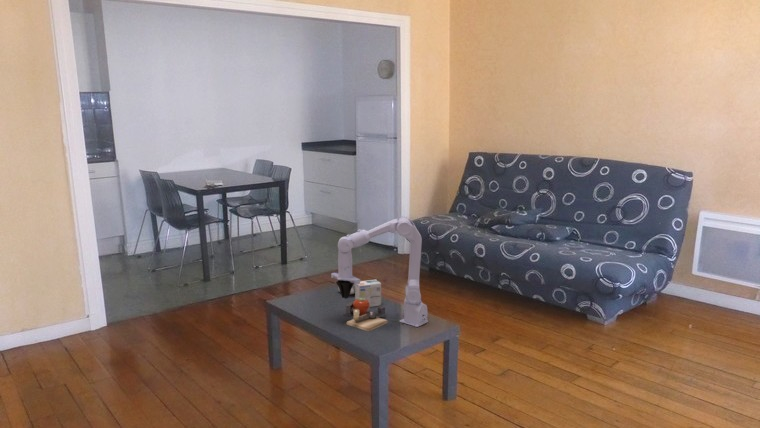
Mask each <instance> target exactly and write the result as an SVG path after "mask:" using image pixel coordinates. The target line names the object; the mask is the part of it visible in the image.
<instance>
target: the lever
mask: <svg viewBox="0 0 760 428" xmlns="http://www.w3.org/2000/svg"><path fill="white" fill-rule="evenodd" d="M353 311H354V313H353V319H354V320H355V321H356V322H360V321H363V320H367V319H374V318H376V317H379V316H384V315H386V307H385V306H382V305H381V306H377V311H371V310H370V311H367V313H366V314H367V315H365V316H362V315H359V309H354V310H353ZM359 316H361V317H359Z"/></svg>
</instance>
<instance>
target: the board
mask: <svg viewBox="0 0 760 428" xmlns="http://www.w3.org/2000/svg"><path fill="white" fill-rule="evenodd" d="M365 315H367V313H365V314H364V315H359V317H361V316H365ZM387 324H388V319H384V318H381V317H379V316H377V317H376V318H374V319H367V320H363V321H360V322H356V321H355V320H354V318H351V319H350V320H348V321H346V326H351V327H354V328H356V329H359V330H362V331H366V332H371V331H374V330H375V329H377V328H381V327H382V326H385V325H387Z"/></svg>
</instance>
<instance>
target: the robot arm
mask: <svg viewBox="0 0 760 428" xmlns="http://www.w3.org/2000/svg"><path fill="white" fill-rule="evenodd" d="M387 233H391V234H395V235H396V234H398V235H400V236H402V237H403V238H405V239H406V240H408V241H409V243H410V244H409V256H408V257H409V261H408V276H407V277H408V278H407V283H406V284H405V287H404V293H405V298H404V299H403V318H401V319H400V320H399V323H402V324H406V325H409V326H413V327H415V328H417V327H420V326H422V325H425V324H427V323H429V320H428V306H427V304H426V303H424V302H423V301H422V294H421V291H420V290H421V289H420V270H421V260H422V257H421V256H422V242H423V239H422V235H421V234H420V232H419V230H418V228H417V226H416V225H415V223H414V221H412V220H411V219H410V218H409V217H407V216H401V217H398V218H393V219H392V220H389V221H387V222H385V223H382V224H380V225H378V226H376V227H373V228H371V229H369V230H366V229H360V228H359V229H357V231H356V232H354V233H352V234H346V236H341V237H340V238H339V240H338V242H337V250H338V251H337V252H338V255H337V263H338V264H337V268H338V272H331V273H330V278H331V279H336V280H337V281H336V282H335V283H336V285H337V288H338V287H339V289H340V292H339V293H340V294H341V297H342V299H343V298H344V299H349V298H350V295H351V294H350V291H351V289H352V286H353V285H354V283H355V284H356V285H357V284H360V281H361V278H358V277H356V276H354V275H353V254H352V249H355V248H358V247H360V246H364V245H365V244H368V243H369V242H370V241H371V239H372V238H376V237H377V236H381V235H383V234H387Z"/></svg>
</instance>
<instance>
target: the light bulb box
mask: <svg viewBox="0 0 760 428" xmlns="http://www.w3.org/2000/svg"><path fill="white" fill-rule="evenodd" d="M354 294H355V296H354V297H355V299H354V300H356V299H357V298H360V297H361V296H363V298H366V300H368V301H369V303H370V307H369V308H371V307H373V308H374V307H381V306H382V283H381V282H380V281H379V280H377V279H368V280H360V284H357V285H356V284H355V293H354Z"/></svg>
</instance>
